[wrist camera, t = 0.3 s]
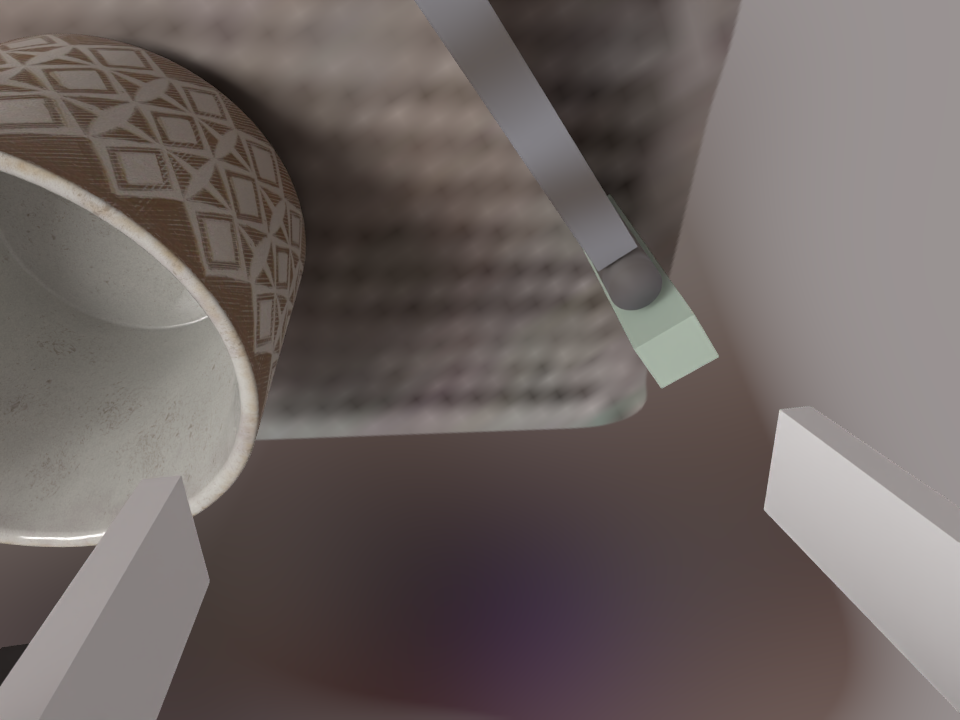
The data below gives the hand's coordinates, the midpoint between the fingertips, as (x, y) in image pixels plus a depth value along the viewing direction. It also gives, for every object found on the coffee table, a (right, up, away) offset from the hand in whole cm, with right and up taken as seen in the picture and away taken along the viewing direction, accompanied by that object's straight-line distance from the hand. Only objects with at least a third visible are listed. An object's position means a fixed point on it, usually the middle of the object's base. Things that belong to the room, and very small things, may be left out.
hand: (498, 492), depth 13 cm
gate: (0, +19, +18) cm, 27 cm away
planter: (-20, +12, +22) cm, 33 cm away
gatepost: (+7, +12, +26) cm, 29 cm away
